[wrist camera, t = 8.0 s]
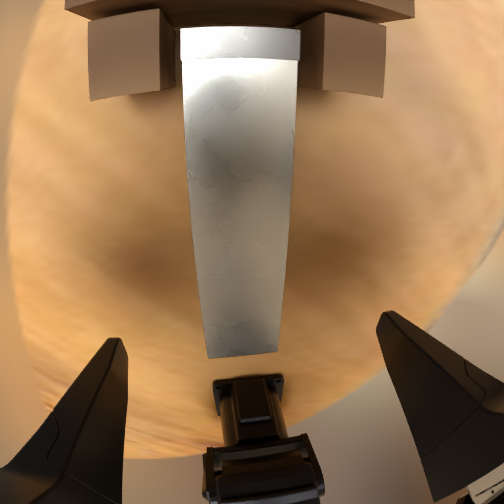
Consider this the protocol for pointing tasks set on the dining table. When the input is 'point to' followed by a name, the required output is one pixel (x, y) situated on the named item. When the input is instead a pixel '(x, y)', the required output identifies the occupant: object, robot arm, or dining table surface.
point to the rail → (240, 178)
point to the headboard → (237, 12)
